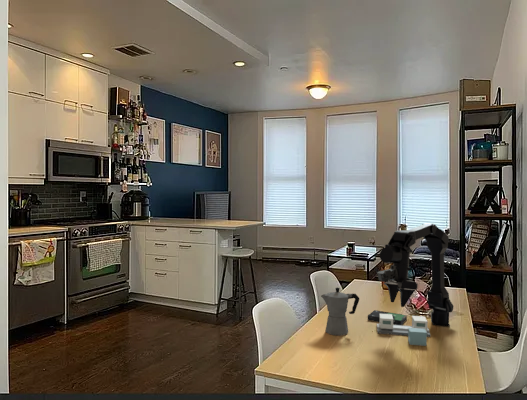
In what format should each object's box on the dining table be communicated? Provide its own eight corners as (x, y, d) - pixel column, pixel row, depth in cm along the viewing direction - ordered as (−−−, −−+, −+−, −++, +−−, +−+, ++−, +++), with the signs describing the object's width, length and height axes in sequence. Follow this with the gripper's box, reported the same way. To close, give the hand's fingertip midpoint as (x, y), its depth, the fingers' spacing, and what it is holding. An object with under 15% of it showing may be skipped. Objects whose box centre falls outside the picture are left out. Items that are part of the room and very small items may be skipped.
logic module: (424, 341, 167) (424, 328, 167) (426, 346, 162) (426, 332, 162) (408, 340, 168) (408, 327, 168) (409, 344, 164) (409, 331, 164)
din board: (426, 329, 182) (426, 315, 182) (430, 337, 172) (430, 322, 172) (376, 325, 186) (376, 312, 186) (377, 333, 176) (378, 319, 176)
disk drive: (367, 321, 194) (401, 326, 186) (367, 315, 194) (401, 320, 186) (373, 315, 203) (407, 320, 195) (373, 309, 203) (407, 314, 195)
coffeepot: (322, 335, 172) (322, 290, 172) (319, 328, 182) (319, 284, 181) (361, 336, 173) (362, 290, 172) (356, 328, 182) (356, 285, 182)
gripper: (372, 259, 177) (368, 298, 177) (390, 264, 159) (386, 307, 158) (398, 262, 179) (394, 300, 178) (420, 267, 160) (416, 310, 159)
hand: (397, 304), depth 168 cm, fingers open, 9 cm apart
